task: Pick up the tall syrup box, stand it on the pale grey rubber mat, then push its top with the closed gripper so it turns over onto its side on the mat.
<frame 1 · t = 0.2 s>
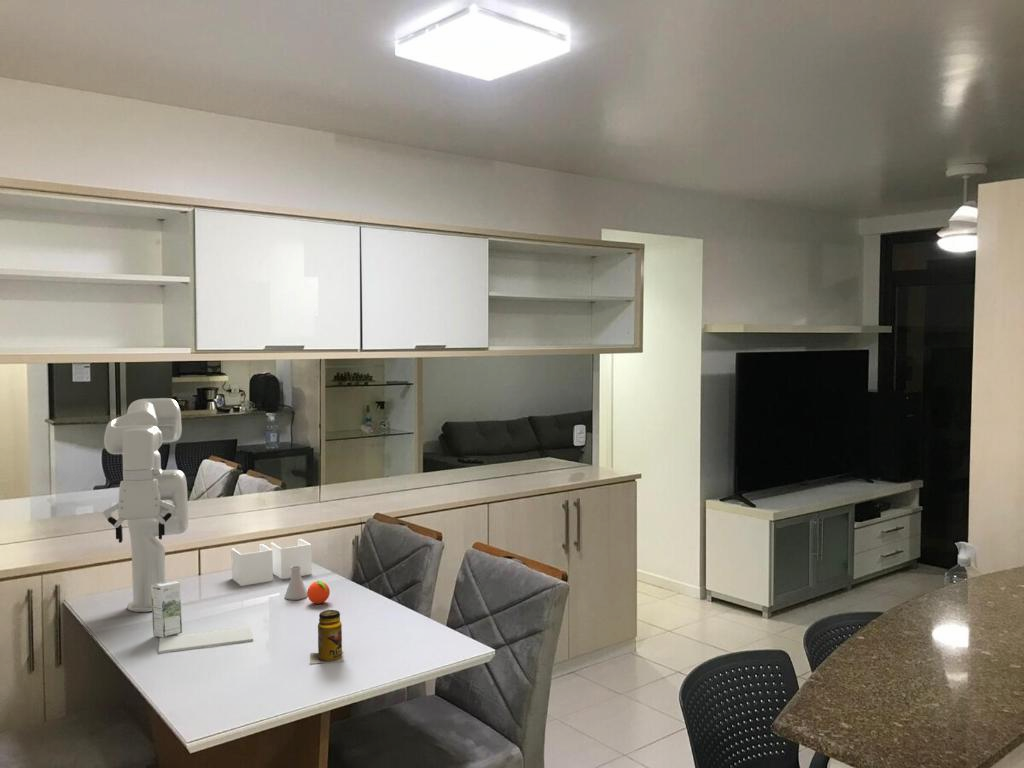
hand: (140, 540, 221), 30 cm above the table, fingers open, 9 cm apart
mat: (206, 640, 232), on the table
syrup box: (168, 635, 236), on the table, touching mat
clementine: (319, 604, 265), on the table
white double bin: (272, 577, 297), on the table
flask: (296, 597, 272), on the table
condiment: (326, 658, 218), on the table
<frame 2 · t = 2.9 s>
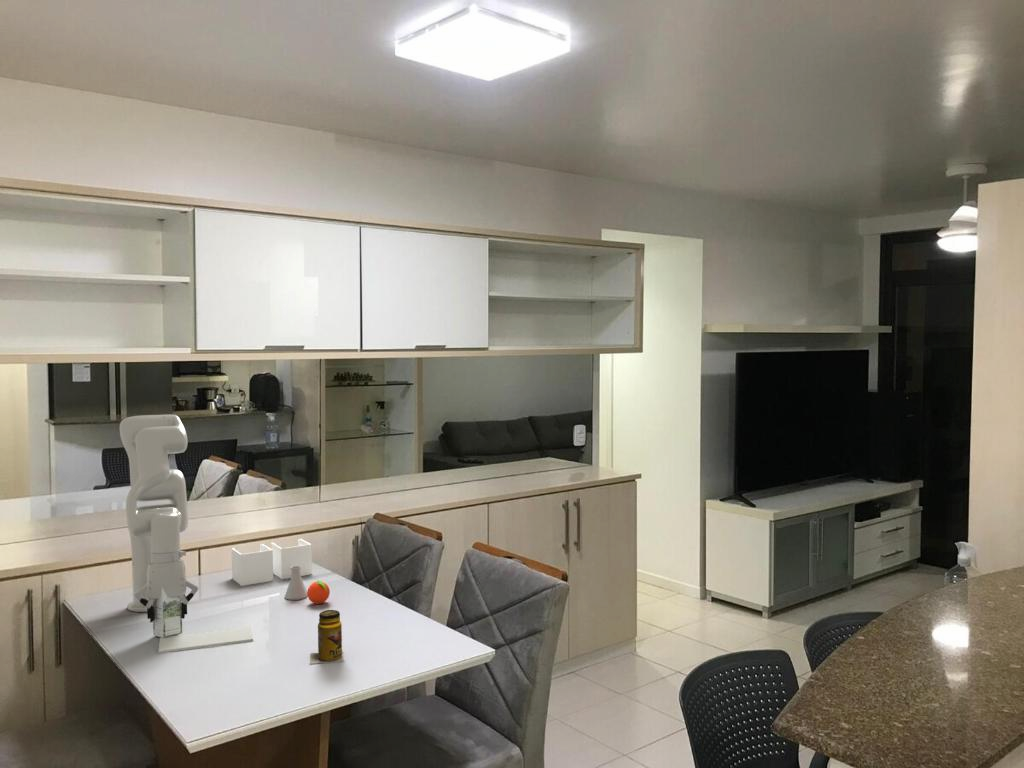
hand: (167, 618, 236), 5 cm above the table, fingers closed on syrup box, 7 cm apart
syrup box: (168, 635, 236), on the table, touching gripper, mat
everything else where it was.
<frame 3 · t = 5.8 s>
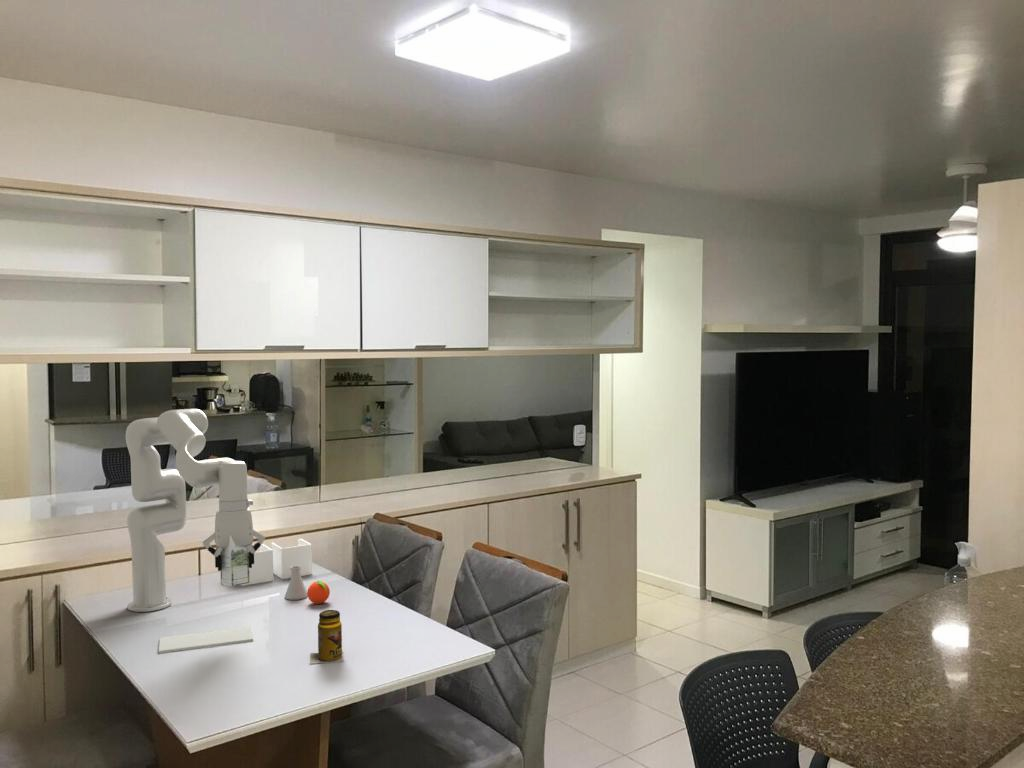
hand: (234, 567, 234), 19 cm above the table, fingers closed on syrup box, 7 cm apart
syrup box: (235, 584, 234), point 15 cm above the table, touching gripper
everything else where it was.
when the fingers open (7 cm above the table, at t = 8.6 s): syrup box drops 2 cm, resting on mat.
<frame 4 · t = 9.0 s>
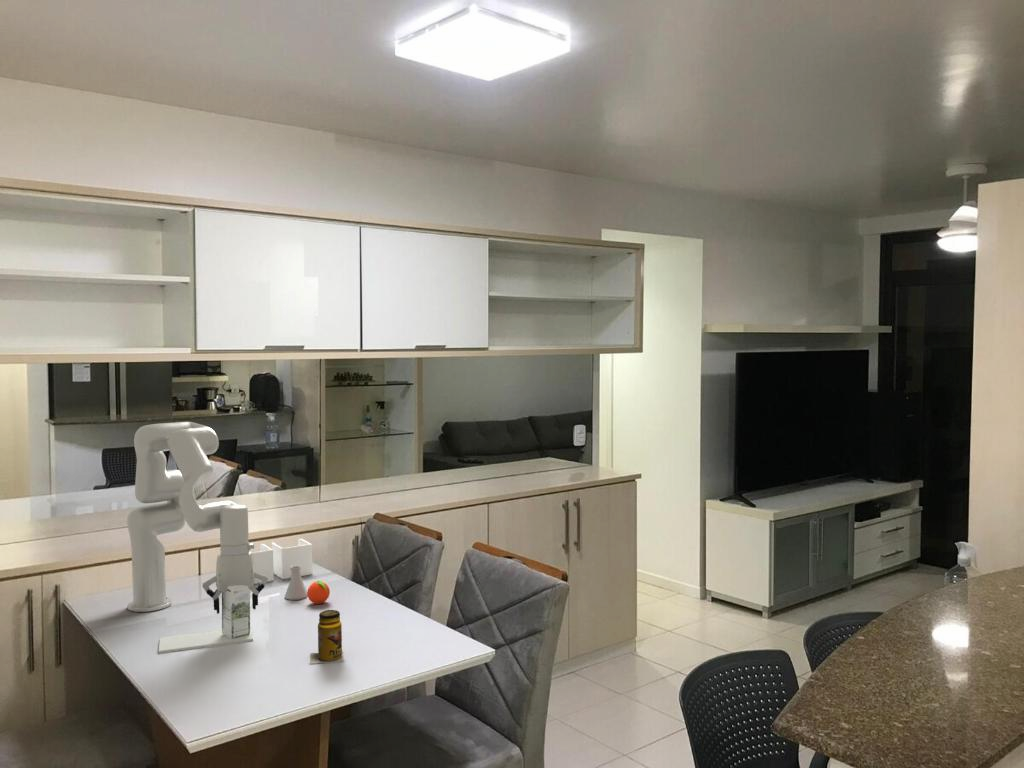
hand: (236, 610, 235), 7 cm above the table, fingers open, 9 cm apart
syrup box: (236, 634, 235), resting on mat
everything else where it was.
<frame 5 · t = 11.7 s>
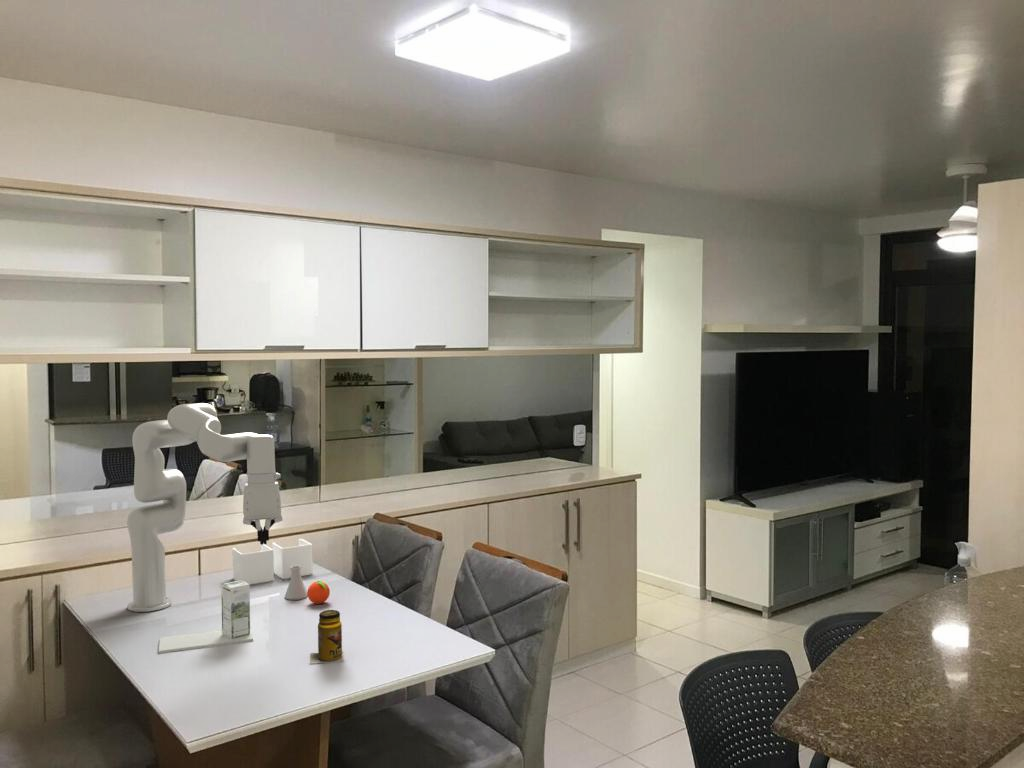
hand: (263, 543, 237), 26 cm above the table, fingers closed
nothing on the table moved.
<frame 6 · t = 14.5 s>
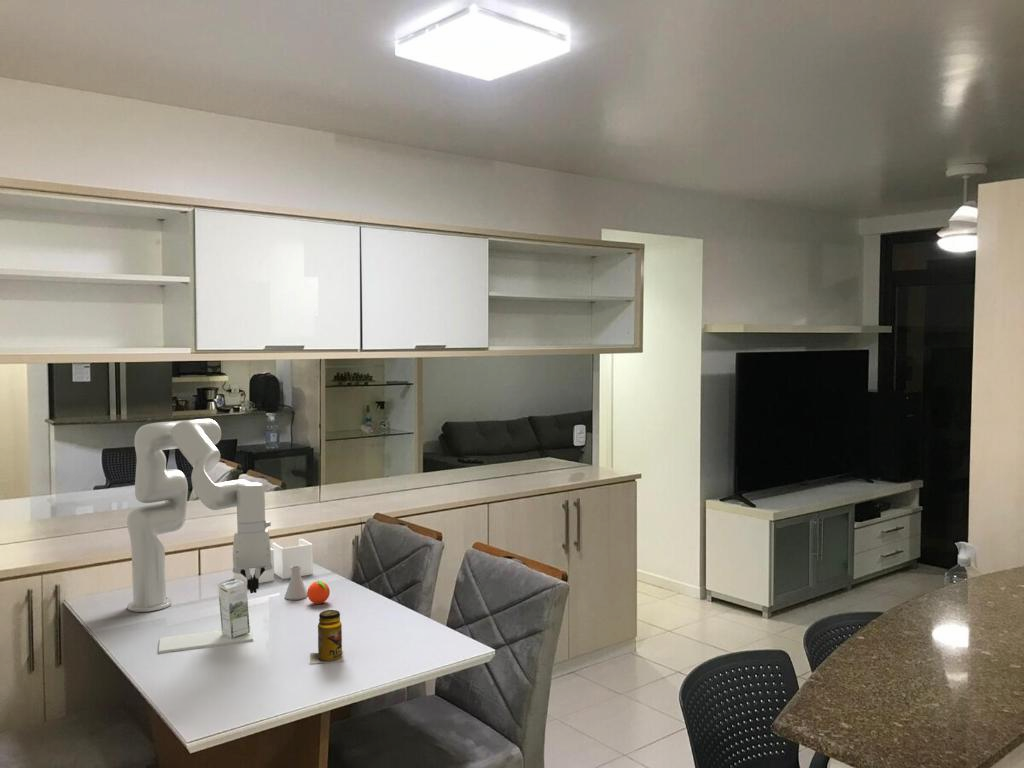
hand: (253, 591, 236), 12 cm above the table, fingers closed
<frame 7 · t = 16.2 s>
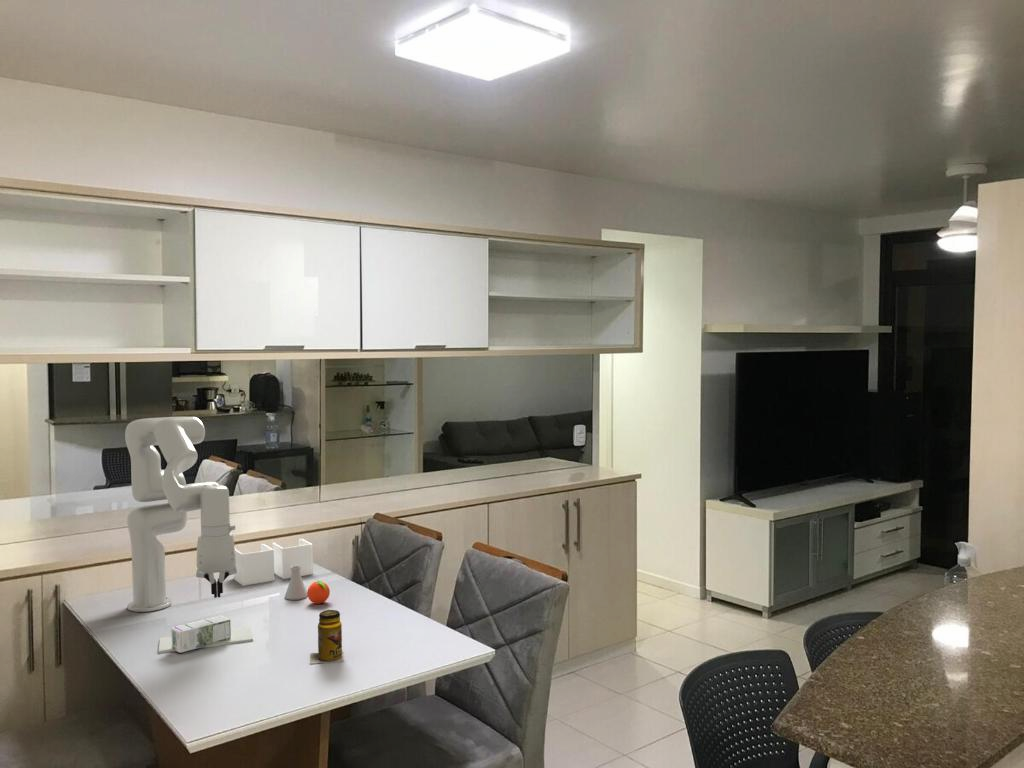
hand: (217, 596, 233), 12 cm above the table, fingers closed
syrup box: (227, 626, 233), point 3 cm above the table, touching mat
everything else where it was.
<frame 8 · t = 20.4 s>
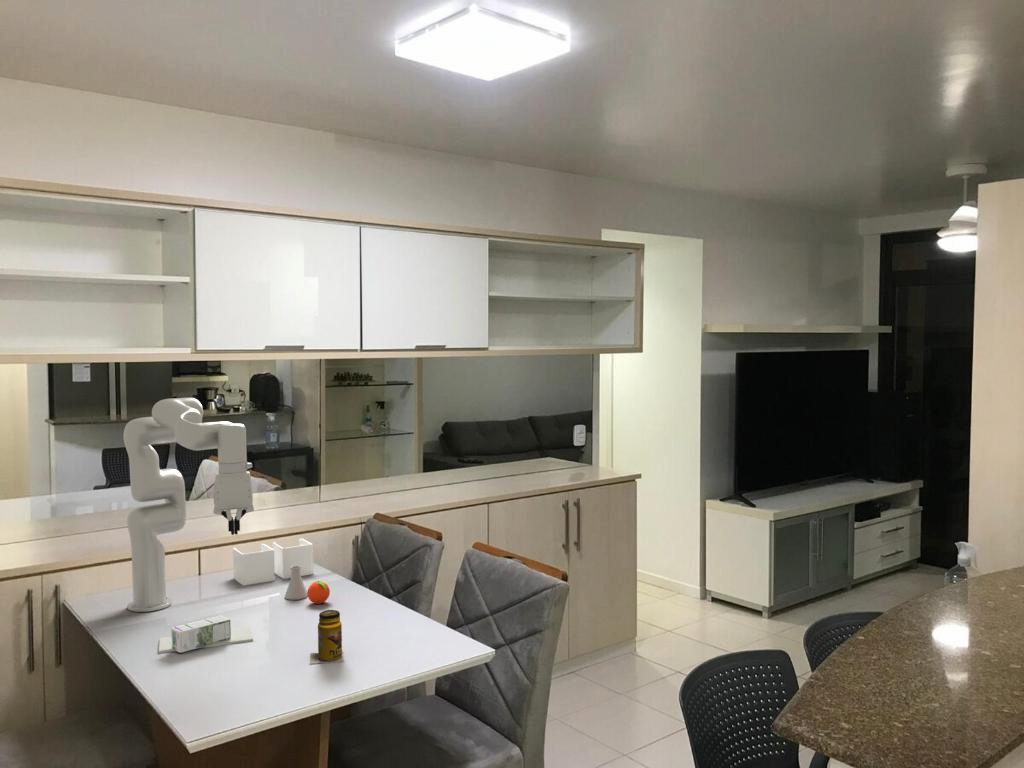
hand: (234, 533, 234), 29 cm above the table, fingers closed
nothing on the table moved.
at the end: syrup box tilted 90°; syrup box inside the target area (6.1 cm from its centre), point 3.5 cm above the table; the gripper is holding nothing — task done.
